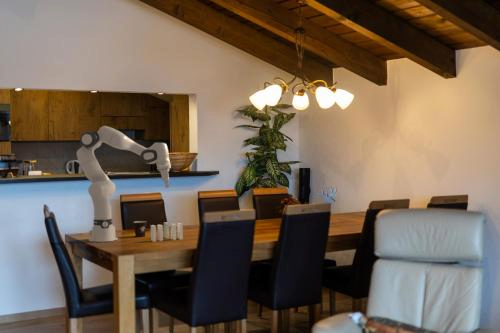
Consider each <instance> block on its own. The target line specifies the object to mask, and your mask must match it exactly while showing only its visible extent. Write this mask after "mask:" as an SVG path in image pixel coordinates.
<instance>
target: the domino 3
mask: <svg viewBox="0 0 500 333" xmlns="http://www.w3.org/2000/svg"><path fill="white" fill-rule="evenodd" d="M169 223H170V222H167V221H166V222H163V239H170V224H169Z"/></svg>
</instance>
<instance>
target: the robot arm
mask: <svg viewBox="0 0 500 333" xmlns="http://www.w3.org/2000/svg"><path fill="white" fill-rule="evenodd" d="M79 141H80V142H79V143H80V145H81V147H80V148H79V149H77V151H76V157H77V161H78V163H79V166H80V168H81V170H82V171H83V173H84V176H85V177H86V179H88V180H89V181H90V182H91V184H90V185H89V186H88V189H87V190H88V194H89V196H90V197H91V201H92V204H93V226H92V228H91V229H90V230H89V235H90V236H89V237H88V242H94V243H95V242H96V243H97V242H98V243H101V242H103V243H105V242H113V241H117V240H119V238H118V237H116V229H115V228H116V227H115V226H114V225H113V221H114V220H113V218H112V215H113V214H112V205H111V203H110V202H109V197H110V196H112V195H113V194H114V193H115V192H116V189H117V188H116V185H115V183H114V182H113V181H111V179H110V178H109V177H108V175H107V174H106V173H105V172H104V171H103V169H102V167H101V165H100V163H99V161H98V159H97V158H96V155H95V152H96V151H98V149H99V148H101V146H102V145H103V143H104V144H106V145H108V146H110V147H112V148H114V149H118V150H125V151H129V152H132V153H134V154H136V155H138V156H140V160H141V162H143V163H144V164H147V165H156V167H157V168H156V169H157V171H159V173H160V176H161V178H162V181H163V182H164V186H165V188H166V189H168V188H169V187H170V186H169V181H170V177H169V176H170V175H169V172H170V169H171V168H172V165H171V161H170V156H169V155H170V153H169V152H170V151H169V148H168V145H167V143H166V142H161V141H156V142H154V143H153V144H151V146H149V147H145V146H144V145H141V144H139V143H137V142H135V141H134V140H133V139H131V138H130V137H128V136H127V135H126V134H124V133H123V132H121V131H120V130H118V129H115V128H113V127H111V126H107V125H103V126H101V127H100V128H99V129H98V131H95V130H93V131H92V130H91V131H90V130H89V131H85V132H83V133H82V134H81V135H80V138H79Z"/></svg>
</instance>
